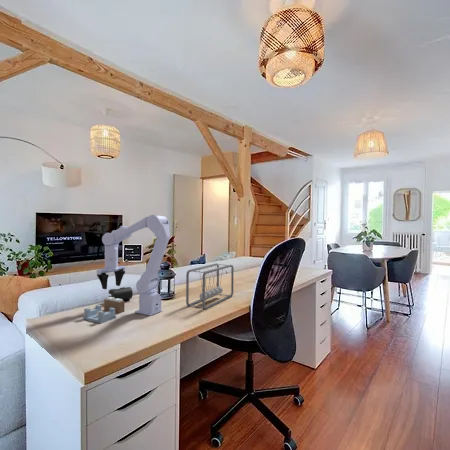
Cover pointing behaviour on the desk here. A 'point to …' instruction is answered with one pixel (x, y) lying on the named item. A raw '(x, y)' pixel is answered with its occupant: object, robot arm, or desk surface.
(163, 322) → the desk surface
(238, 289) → the desk surface
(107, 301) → the tan brown bar
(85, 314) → the display stand
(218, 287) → the newton's cradle
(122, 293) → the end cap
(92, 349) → the desk surface
